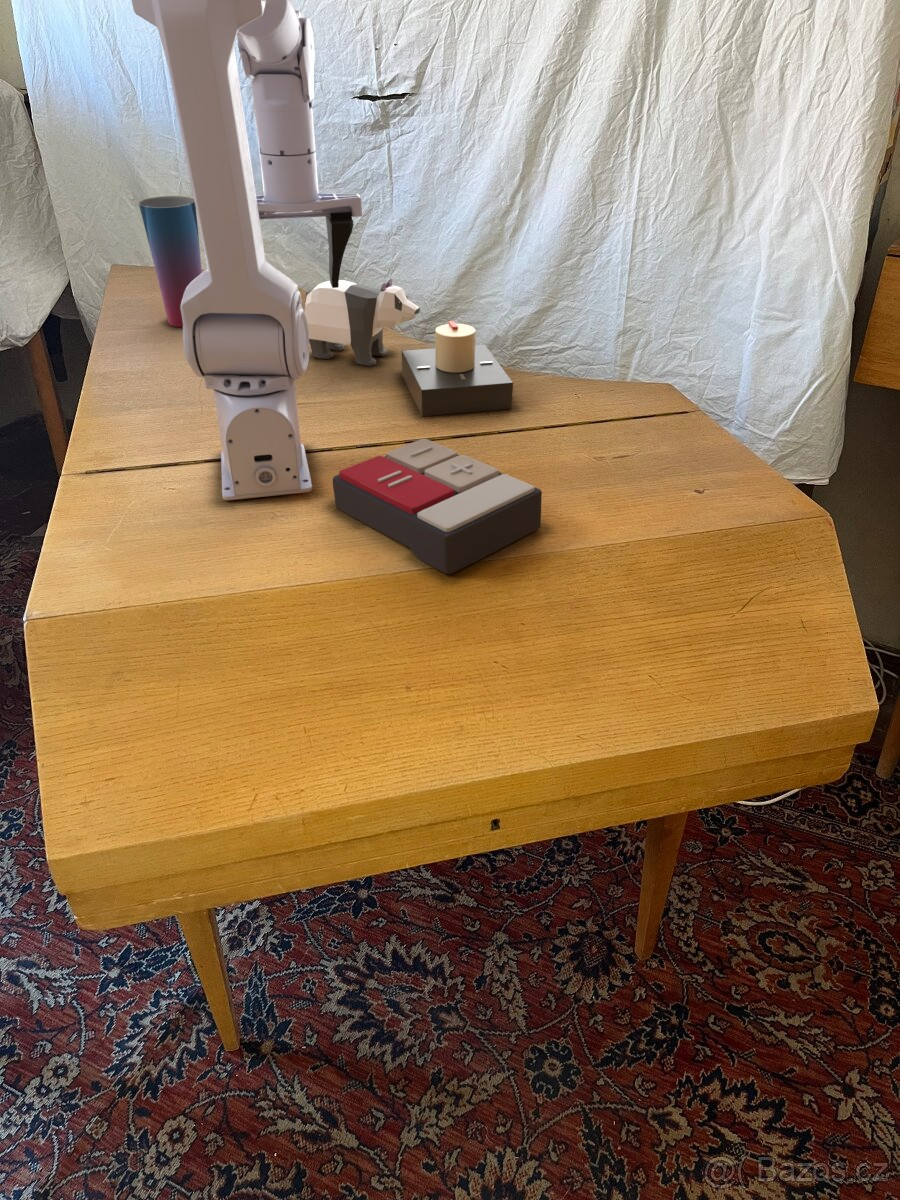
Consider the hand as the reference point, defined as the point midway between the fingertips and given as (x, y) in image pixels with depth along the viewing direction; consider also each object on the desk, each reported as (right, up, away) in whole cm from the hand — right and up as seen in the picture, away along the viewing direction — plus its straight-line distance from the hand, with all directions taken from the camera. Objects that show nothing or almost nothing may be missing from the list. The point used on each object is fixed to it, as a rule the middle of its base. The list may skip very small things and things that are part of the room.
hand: (300, 287), depth 96 cm
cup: (-19, +3, +20) cm, 28 cm away
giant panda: (+6, -5, +10) cm, 13 cm away
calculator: (+16, -28, -21) cm, 38 cm away
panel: (+17, -11, +1) cm, 21 cm away
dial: (+17, -9, 0) cm, 20 cm away
